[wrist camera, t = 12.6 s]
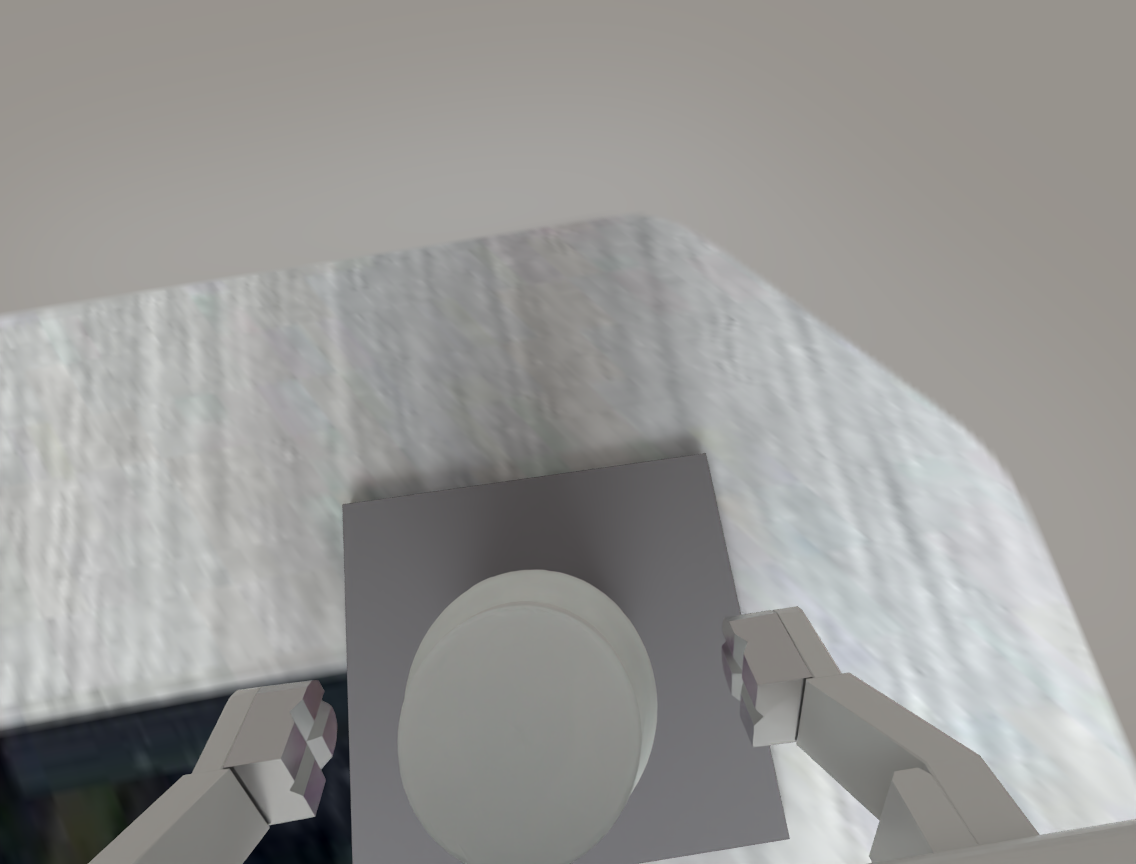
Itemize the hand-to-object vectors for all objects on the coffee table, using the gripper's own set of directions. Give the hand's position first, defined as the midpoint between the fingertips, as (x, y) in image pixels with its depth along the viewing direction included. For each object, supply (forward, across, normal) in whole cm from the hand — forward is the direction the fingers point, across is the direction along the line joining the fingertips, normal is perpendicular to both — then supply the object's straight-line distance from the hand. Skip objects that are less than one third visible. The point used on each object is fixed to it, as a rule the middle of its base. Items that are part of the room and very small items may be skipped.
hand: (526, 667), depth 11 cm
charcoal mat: (+5, 0, +6) cm, 8 cm away
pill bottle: (+5, 0, +6) cm, 8 cm away
